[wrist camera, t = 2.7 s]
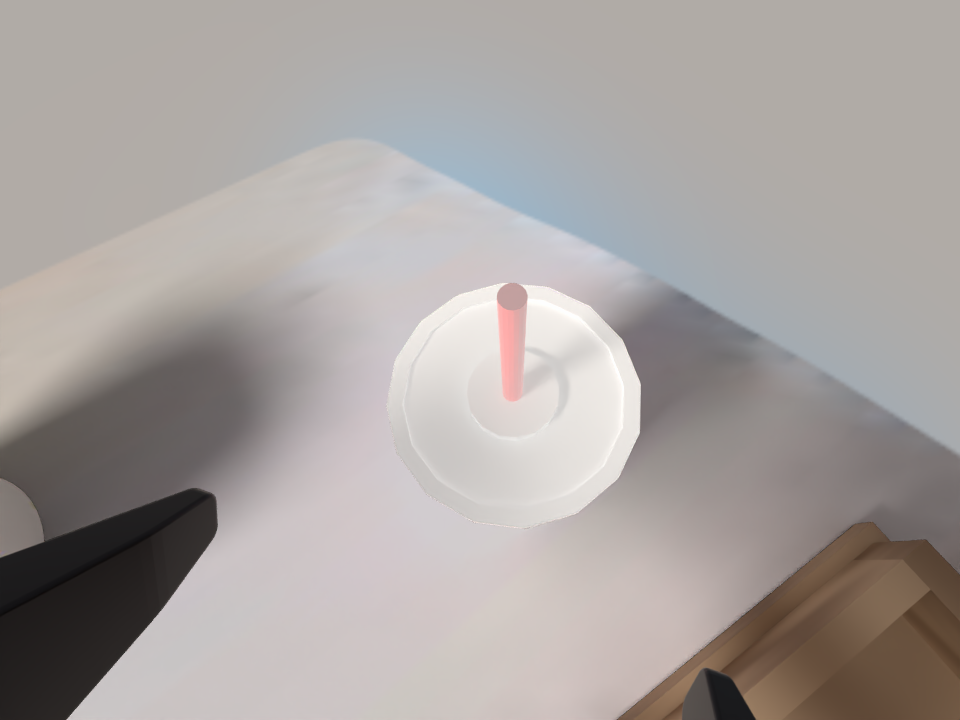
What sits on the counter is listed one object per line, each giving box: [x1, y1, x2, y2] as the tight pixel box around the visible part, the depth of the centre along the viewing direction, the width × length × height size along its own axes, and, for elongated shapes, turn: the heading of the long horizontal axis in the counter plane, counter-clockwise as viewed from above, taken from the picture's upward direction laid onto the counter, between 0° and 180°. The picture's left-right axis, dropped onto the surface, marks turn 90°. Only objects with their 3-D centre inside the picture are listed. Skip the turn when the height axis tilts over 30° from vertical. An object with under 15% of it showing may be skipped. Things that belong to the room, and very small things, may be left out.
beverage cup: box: [386, 283, 641, 529], centre depth 15 cm, size 6×6×14 cm
